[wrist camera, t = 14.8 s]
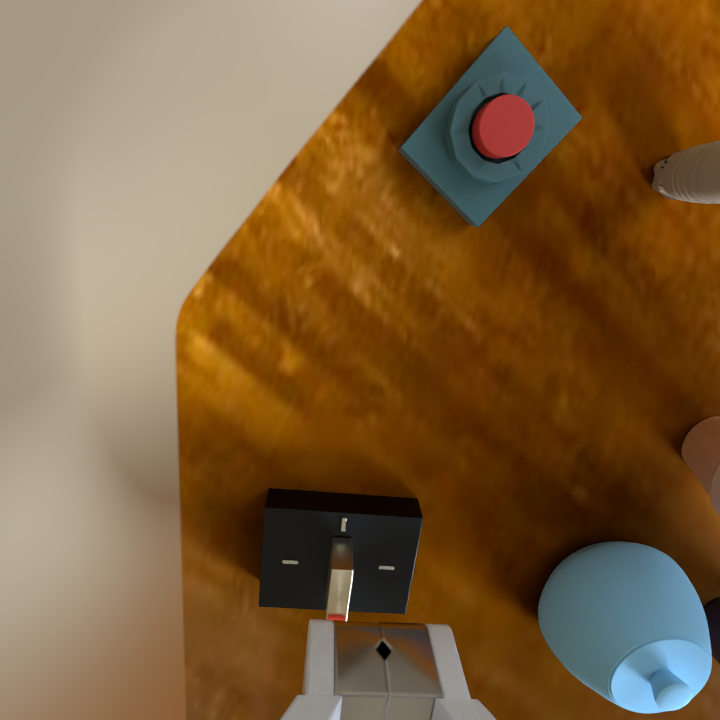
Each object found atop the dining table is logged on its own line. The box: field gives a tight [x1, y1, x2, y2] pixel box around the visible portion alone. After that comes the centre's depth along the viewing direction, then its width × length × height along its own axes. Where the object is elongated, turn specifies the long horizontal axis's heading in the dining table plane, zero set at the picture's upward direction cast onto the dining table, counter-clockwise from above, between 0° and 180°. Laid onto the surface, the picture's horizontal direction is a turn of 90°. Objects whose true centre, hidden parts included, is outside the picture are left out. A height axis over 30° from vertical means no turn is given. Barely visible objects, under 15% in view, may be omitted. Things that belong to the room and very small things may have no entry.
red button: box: [472, 94, 534, 159], centre depth 31 cm, size 4×4×2 cm
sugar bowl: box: [538, 541, 712, 713], centre depth 44 cm, size 15×15×12 cm
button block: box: [398, 26, 582, 227], centre depth 33 cm, size 10×8×4 cm
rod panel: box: [259, 488, 423, 614], centre depth 45 cm, size 14×11×3 cm
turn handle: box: [325, 537, 353, 621], centre depth 41 cm, size 6×2×4 cm, turn 174°
